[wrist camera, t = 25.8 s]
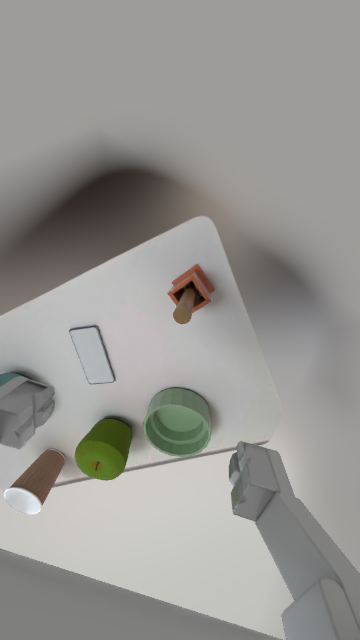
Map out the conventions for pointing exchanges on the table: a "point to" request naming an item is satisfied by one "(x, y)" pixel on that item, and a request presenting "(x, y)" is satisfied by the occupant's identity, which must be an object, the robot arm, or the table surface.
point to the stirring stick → (186, 304)
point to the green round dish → (178, 422)
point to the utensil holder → (200, 282)
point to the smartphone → (92, 354)
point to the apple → (104, 450)
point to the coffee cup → (35, 483)
